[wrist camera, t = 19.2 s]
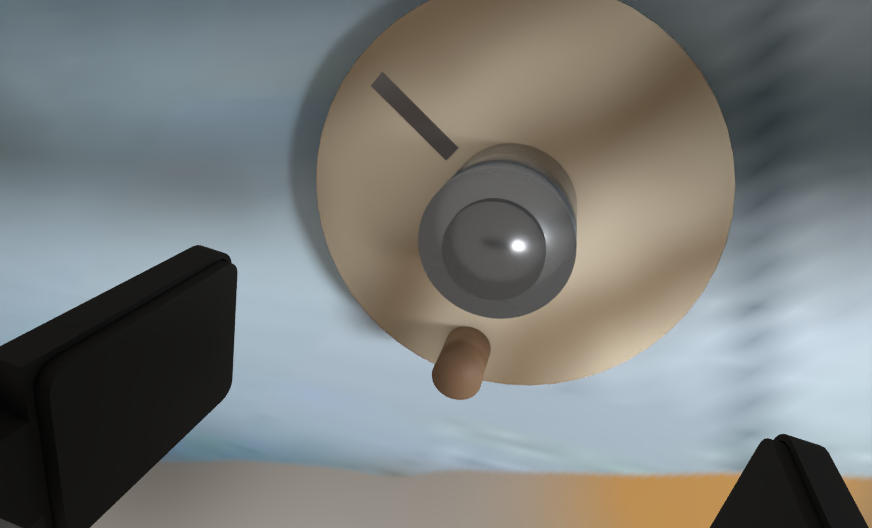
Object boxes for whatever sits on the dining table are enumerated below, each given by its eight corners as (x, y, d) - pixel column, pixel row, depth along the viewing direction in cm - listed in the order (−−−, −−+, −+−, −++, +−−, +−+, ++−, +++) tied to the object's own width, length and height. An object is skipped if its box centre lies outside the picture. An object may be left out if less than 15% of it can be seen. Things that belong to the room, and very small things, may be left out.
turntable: (821, 205, 20) (874, 241, 17) (509, 424, 27) (498, 483, 23) (514, -126, 19) (498, -166, 15) (265, 193, 26) (213, 219, 22)
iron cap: (551, 122, 20) (543, 146, 16) (595, 246, 21) (598, 302, 17) (428, 171, 22) (388, 205, 17) (475, 282, 23) (449, 341, 19)
